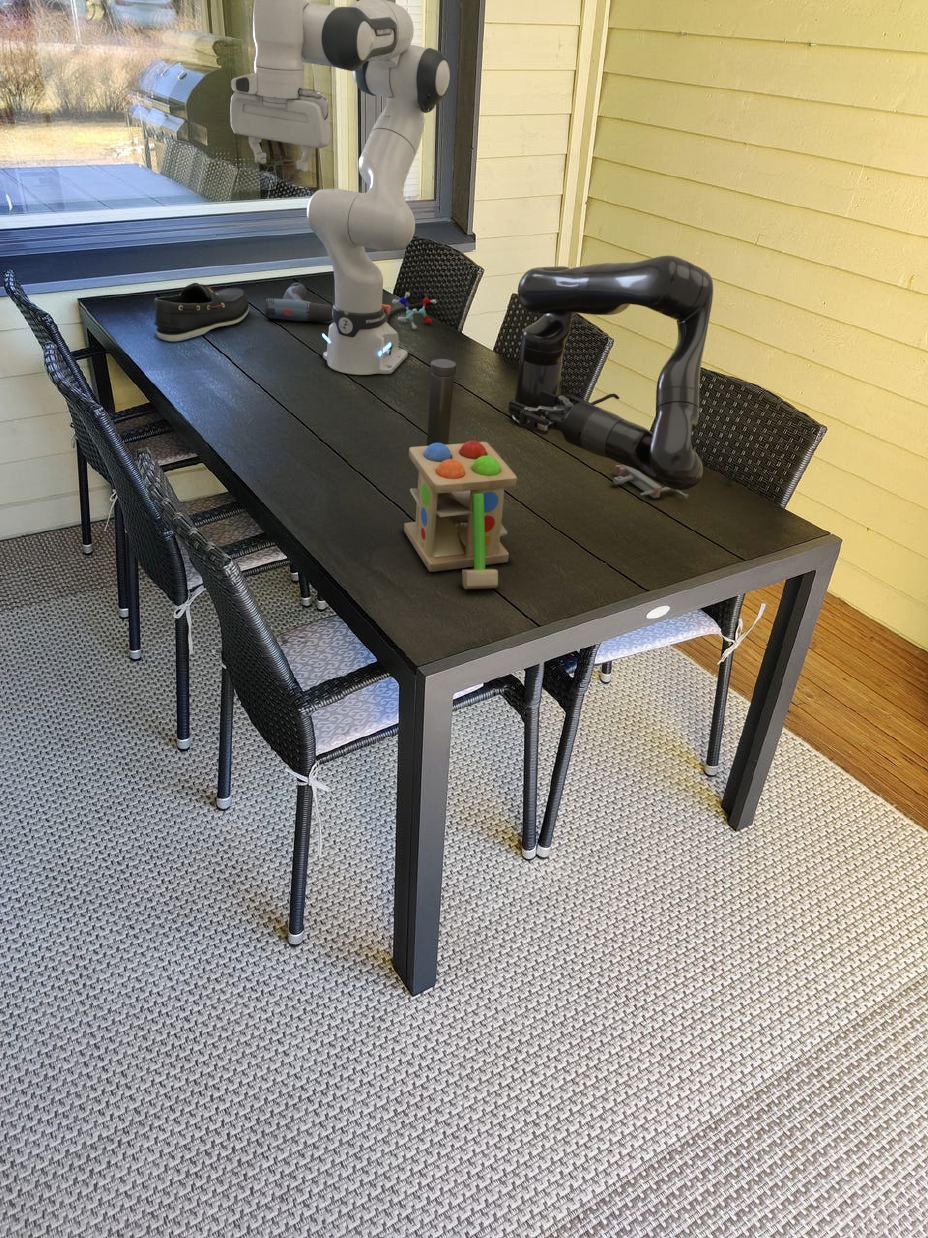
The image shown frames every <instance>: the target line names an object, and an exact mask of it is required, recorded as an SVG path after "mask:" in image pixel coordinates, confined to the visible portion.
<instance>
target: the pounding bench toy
mask: <svg viewBox="0 0 928 1238" xmlns="http://www.w3.org/2000/svg"><path fill="white" fill-rule="evenodd" d="M408 458H409V459H410V461H411V462H412V464H413V465H414V467H415V468H416V470H417V471H418V477H417V479H418V480H417V488H415V487H410V488H409V493H410V494H411V496H412V497H413V499H414V500H415V503H416V512H415V521H410V522H405V523H403V525H404V526H403V531H404V534H405V535H406V536H407V539H408V541H410V543H411V545H412V546H413V548H414V549H415V551H416V553H417V554H418V556H419V558H420V559H421V560H422V562H423V564H424V565H425V567H426V568H427V570H428V571H429V572H431V573H432V572H433V573H435V572H441V571H449V570H458V569H462V570H461V571H462V572H461V573H462V575H461V576H462V587H463V589H464V590H479V589H483V590H484V589H496V588H498V586H499V570H497V569H495V568H486V566H488V565H495V564H502V563H508V561H509V557H510V555H509V554H510V553H509V552H508V551H507V549H506V548H505V546H504V545H503V544H502V542H500V541H501V539H500V538H501V537H504V536H507V535H508V530H507V529H506V528H505V527H504V525H503V524H502V521H503V520H502V519H503V509H504V499H505V488H512V487H516V486H517V481H518V477H517V475H516V474H515V473H514V471H513V470H512V469H511V468H510V467H509V465H508V464H507V463H506V462H505V461H504V459H502V458H501V456H500V454H499V453H497V452H496V450H495V449H494V448H493V447H492V446H491V444H490V443H488V442H487V441H477V440H468V441H466V442H465V443H451V444H448V445H444V444H442V443H433V444H431V445H429V446H427V445H422V446H421V445H420V446H410V447H409V449H408ZM472 567H473V568H472ZM464 568H471V569H464Z"/></svg>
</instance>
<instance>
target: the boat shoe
mask: <svg viewBox="0 0 928 1238" xmlns="http://www.w3.org/2000/svg"><path fill="white" fill-rule="evenodd" d="M154 305H155V315H154V317H155V321H154V322H153V323H154V325H155V326H156V337H157V338H158V339H160V340H162V341H166V342H180V341H181V342H182V341H186V340H189V339H192V338H196V337H199V336H201V335H204V334H206V333H208V332H209V331H210V330H212V329H215V328H219V327H224V326H226V327H227V326H230V325H234V324H238V323H239V322H241V321H243V320H244V319H245V318H246V317H247V315H248V314H249V311H250V304H249V300H248V297H247V295H246V293H245V291H244V290H243V289H241V288H238V287H230V288H224V289H220V290H217V291H215V290H214V289H213V288H212V287H211V286H209V285H207V284H203V283H198V282H191V283H190V284H188V285H186V286H185V287H184V288H183V289H182V290H181V291H180V292H179V294H177V295H171V296H159V297H155V298H154Z"/></svg>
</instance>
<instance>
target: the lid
mask: <svg viewBox="0 0 928 1238" xmlns="http://www.w3.org/2000/svg"><path fill="white" fill-rule="evenodd" d="M456 369H457V363H456V362H455V361H454V360H452V359H446V358H437V359H436V358H435V359H433V360H431V362H430V373H431V374H434V375H437V376H443V377H447V376H453V375H454V376H455V374H456Z"/></svg>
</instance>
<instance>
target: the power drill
mask: <svg viewBox="0 0 928 1238" xmlns="http://www.w3.org/2000/svg"><path fill="white" fill-rule="evenodd" d="M307 295H308V290H307V287H306V285H304V284H303V283H301V282H293V283H292V284H291V285H290V286H289V287H288V288H287V289H286V291H285V292H284V294H283V297H282V298H266V299H265V302H264V313H265V314H264V316H265V318H267V319H274V320H275V319H276V320H283V321H294V322H295V321H297V322H332V321H333V314H332V311H333V305H331V304H324V303H317V302H313V301H307V300H305V299H306V297H307Z"/></svg>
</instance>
